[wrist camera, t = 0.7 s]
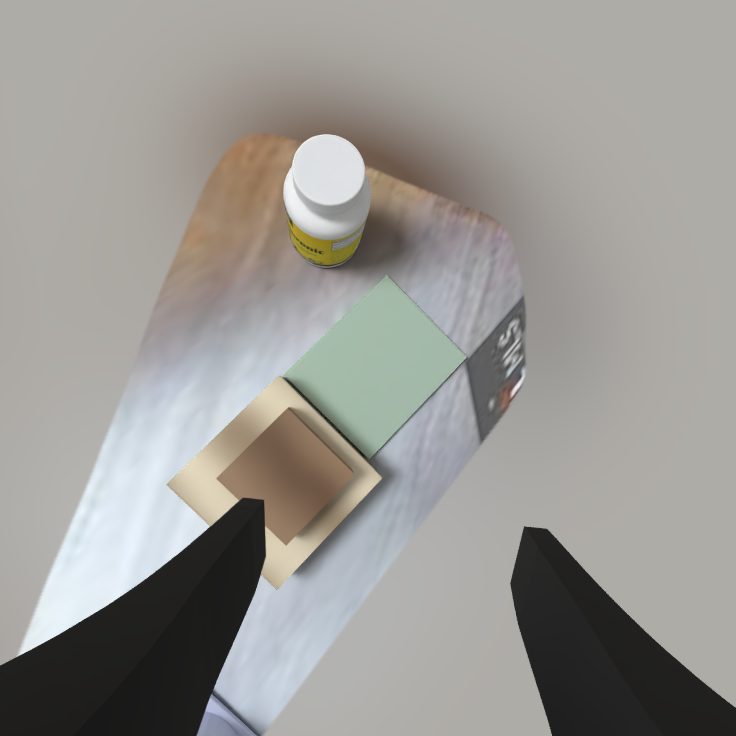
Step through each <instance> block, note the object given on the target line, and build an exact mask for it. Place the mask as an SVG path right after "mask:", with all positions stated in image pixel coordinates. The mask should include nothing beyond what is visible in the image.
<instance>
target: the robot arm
mask: <svg viewBox="0 0 736 736" xmlns="http://www.w3.org/2000/svg"><path fill="white" fill-rule="evenodd" d="M265 558H266V537H265V507H264V500H263V499H253V498H242V499H241V500H239V501H238V502H237V503H236V504H235V505H234V506H233V507H231V508H230V509H229V510H228V511H227V512H226V513H225V514H224V515H223V516H222V517H220V518H219V519H218V520H217V521H216V522H215V523H214V524H213V525H212V526H210V527H209V528H208V529H207V530H206V531H205V532H204V533H202V534H201V535H200V536H199V537H198V538H197V539H195V540H194V541H193V542H192V543H191V544H190V545H188V546H187V547H186V548H185V549H184V550H182V551H181V552H180V553H179V554H178V555H176V556H175V557H174V558H172V559H171V560H170V561H169V562H167V563H166V564H165V565H164V566H162V567H161V568H160V569H158V570H157V571H156V572H155V573H153V574H152V575H151V576H149V577H148V578H147V579H145V580H144V581H142V582H141V583H140V584H138V585H137V586H136V587H134V588H133V589H131V590H130V591H128V592H127V593H125V594H124V595H122V596H121V597H119V598H118V599H116V600H115V601H114V602H112V603H110V604H109V605H107V606H106V607H104V608H103V609H101V610H99V611H98V612H96V613H94V614H93V615H91V616H89V617H88V618H86V619H84V620H83V621H81V622H79V623H78V624H76V625H74V626H73V627H71V628H69V629H67V630H66V631H64V632H62V633H61V634H59V635H57V636H55V637H54V638H52V639H50V640H48V641H46V642H44V643H43V644H41V645H39V646H37V647H35V648H33V649H32V650H30V651H28V652H26V653H24V654H22V655H20V656H18V657H16V658H14V659H12V660H10V661H8V662H6V663H5V664H3V665H0V736H257V735H256V734H254V733H253V732H252V731H251V730H250V729H249V728H248V727H247V726H246V725H245V724H244V723H243V722H241V721H240V720H239V719H238V718H237V717H236V716H235V715H234V714H233V713H232V712H231V711H230V710H228V709H227V708H226V707H225V706H224V705H223V704H222V703H221V702H220V701H219V700H218V699H217V698H215V697H214V696H213V695H212V691H213V689H214V686H215V684H216V681H217V679H218V677H219V674H220V672H221V670H222V667H223V665H224V663H225V661H226V658H227V656H228V654H229V651H230V649H231V647H232V645H233V642H234V640H235V638H236V635H237V633H238V631H239V629H240V626H241V624H242V622H243V619H244V617H245V615H246V612H247V610H248V608H249V606H250V603H251V601H252V598H253V596H254V594H255V591H256V588H257V585H258V581H259V578H260V575H261V572H262V568H263V565H264V562H265ZM510 584H511V590H512V595H513V601H514V606H515V611H516V616H517V621H518V625H519V629H520V632H521V635H522V639H523V642H524V645H525V648H526V652H527V654H528V658H529V661H530V664H531V668H532V671H533V674H534V677H535V680H536V684H537V687H538V690H539V693H540V696H541V699H542V703H543V706H544V709H545V712H546V716H547V719H548V722H549V726H550V729H551V733H552V736H736V708H735V707H734V706H732V705H731V704H730V703H728V702H727V701H726V700H725V699H723V698H722V697H721V696H720V695H718V694H717V693H716V692H715V691H713V690H712V689H711V688H710V687H708V686H707V685H706V684H705V683H704V682H702V681H701V680H700V679H699V678H697V677H696V676H695V675H694V674H693V673H692V672H690V671H689V670H688V669H687V668H686V667H685V666H683V665H682V664H681V663H680V662H679V661H678V660H677V659H675V658H674V657H673V656H672V655H671V654H670V653H668V652H667V651H666V650H665V649H664V648H663V647H661V645H659V644H658V643H657V642H656V641H655V640H654V639H653V638H652V637H651V636H649V634H647V633H646V632H645V631H644V630H643V629H642V628H641V627H640V626H639V625H638V624H637V623H636V622H635V621H634V620H633V619H632V618H631V617H630V616H629V615H628V614H627V613H626V612H625V611H624V610H623V609H622V608H621V607H620V606H619V605H618V604H617V603H616V602H614V600H613V599H612V598H611V597H610V596H609V595H608V594H607V593H606V592H605V591H604V590H603V589H602V588H601V587H600V586H599V585H598V584H597V583H596V582H595V581H594V580H593V578H592V577H591V576H590V575H589V574H588V573H587V572H586V571H585V570H584V569H583V568H582V567H581V565H580V564H579V563H578V562H577V561H576V560H575V559H574V558H573V557H572V556H571V554H570V553H569V552H568V551H567V550H566V549H565V548H564V547H563V546H562V544H561V543H560V542H559V541H558V540H557V539H556V538H555V537H554V536H553V535H552V534H551V533H550V531H548V530H547V529H543V528H534V527H524V529H523V533H522V538H521V542H520V546H519V550H518V554H517V558H516V562H515V566H514V570H513V575H512V579H511V583H510Z"/></svg>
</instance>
